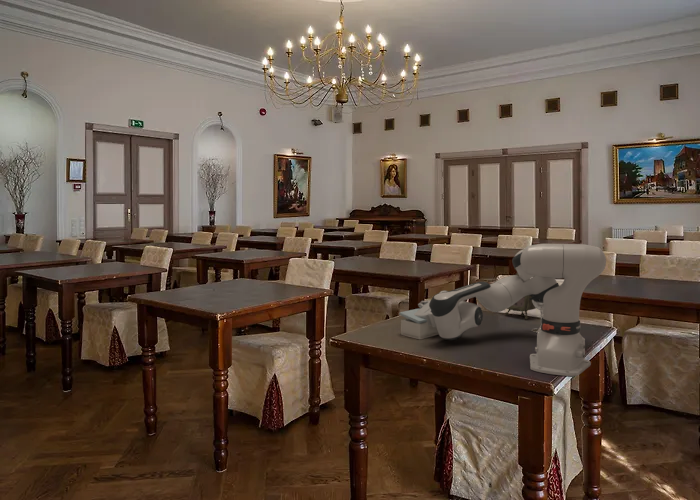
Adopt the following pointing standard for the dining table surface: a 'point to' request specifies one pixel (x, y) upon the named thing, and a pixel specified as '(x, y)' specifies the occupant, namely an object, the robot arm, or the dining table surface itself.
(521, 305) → the tabletop clock
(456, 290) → the robot arm
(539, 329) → the wineglass
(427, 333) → the white open box
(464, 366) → the dining table surface
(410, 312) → the panel
